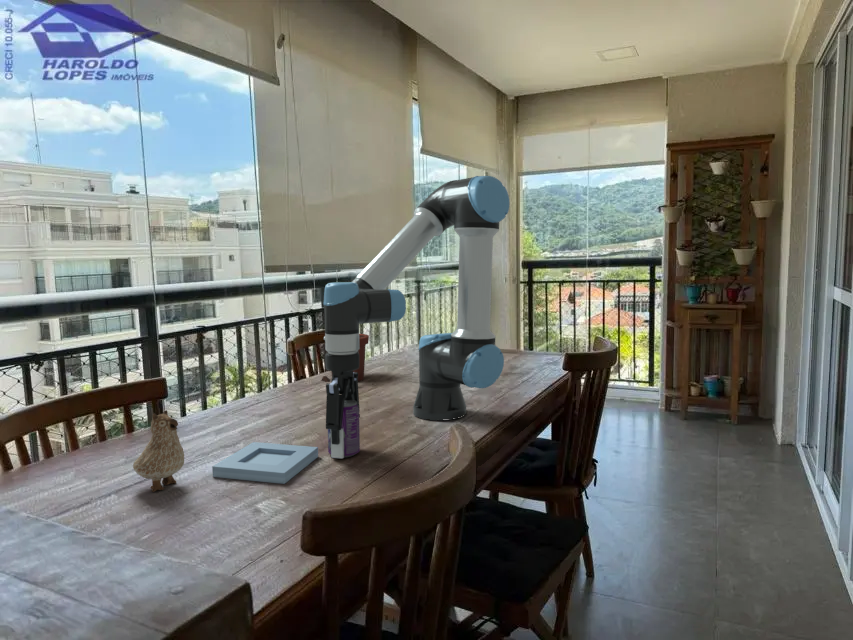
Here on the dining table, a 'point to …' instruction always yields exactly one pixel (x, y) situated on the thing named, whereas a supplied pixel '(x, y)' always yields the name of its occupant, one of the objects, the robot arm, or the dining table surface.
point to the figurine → (161, 453)
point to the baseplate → (266, 462)
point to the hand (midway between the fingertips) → (344, 451)
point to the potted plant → (362, 342)
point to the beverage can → (349, 429)
